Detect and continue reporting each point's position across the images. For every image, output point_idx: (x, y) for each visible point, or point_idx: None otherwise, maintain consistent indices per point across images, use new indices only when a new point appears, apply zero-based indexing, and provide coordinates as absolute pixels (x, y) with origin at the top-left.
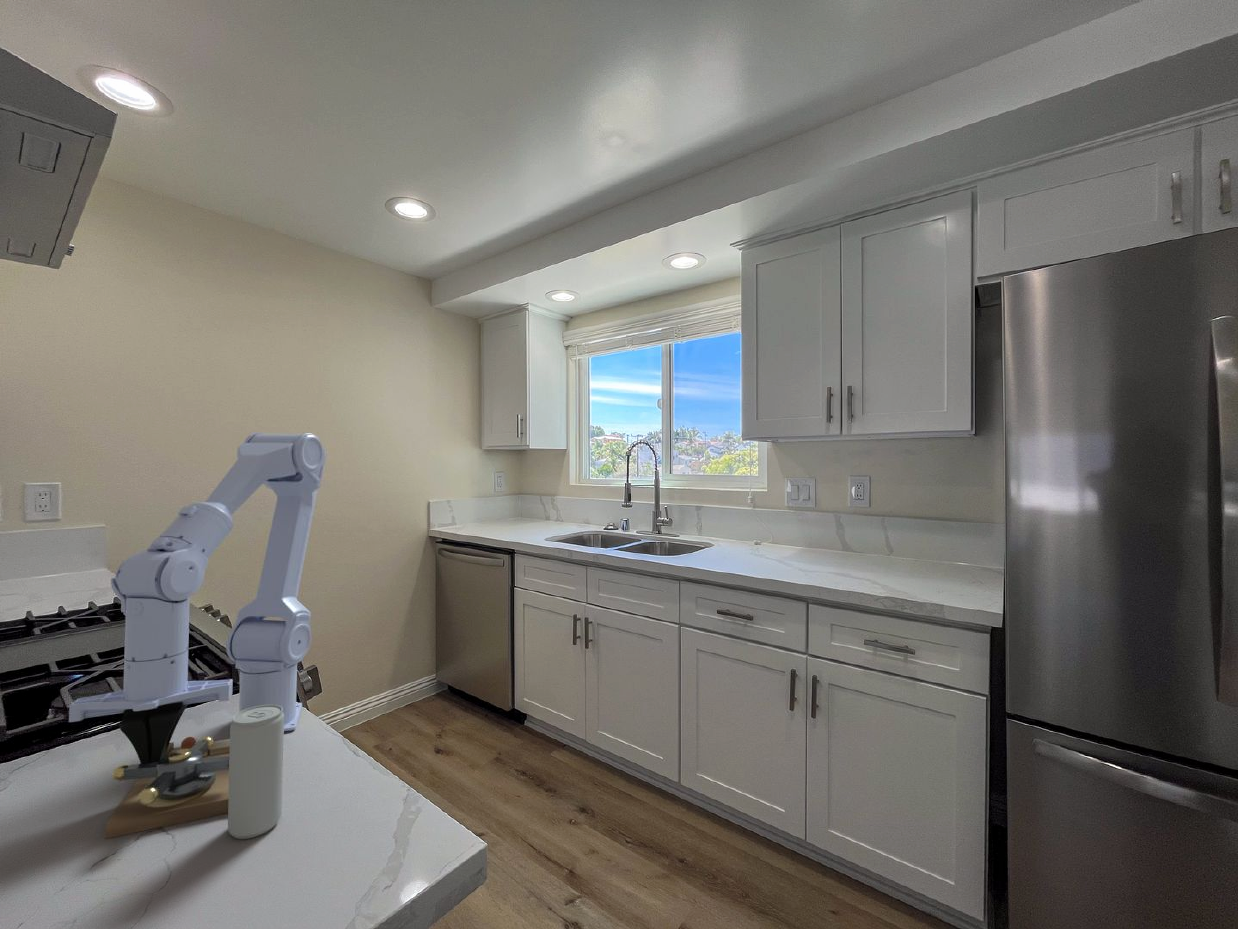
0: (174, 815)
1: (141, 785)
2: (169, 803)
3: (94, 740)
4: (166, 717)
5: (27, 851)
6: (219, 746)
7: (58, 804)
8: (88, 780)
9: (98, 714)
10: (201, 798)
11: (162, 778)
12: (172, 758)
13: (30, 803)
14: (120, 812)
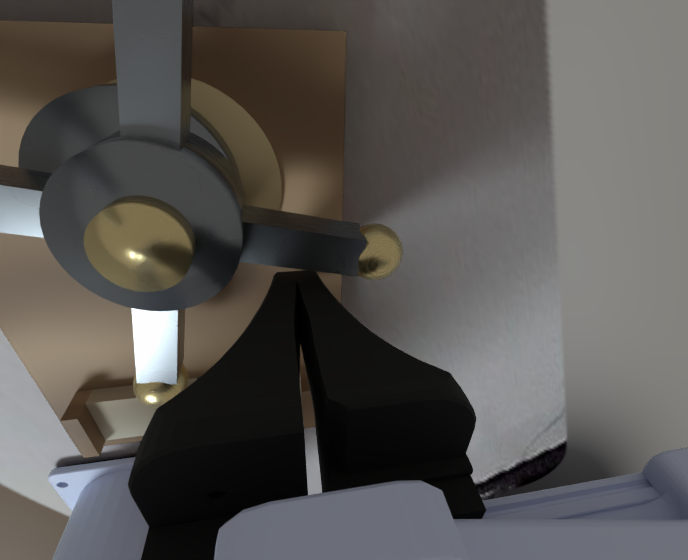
0: None
1: None
2: None
3: None
4: (185, 437)
5: (516, 67)
6: None
7: (485, 284)
8: (450, 360)
9: (592, 493)
10: (48, 87)
11: (146, 69)
12: (150, 207)
13: (531, 304)
14: (324, 103)
